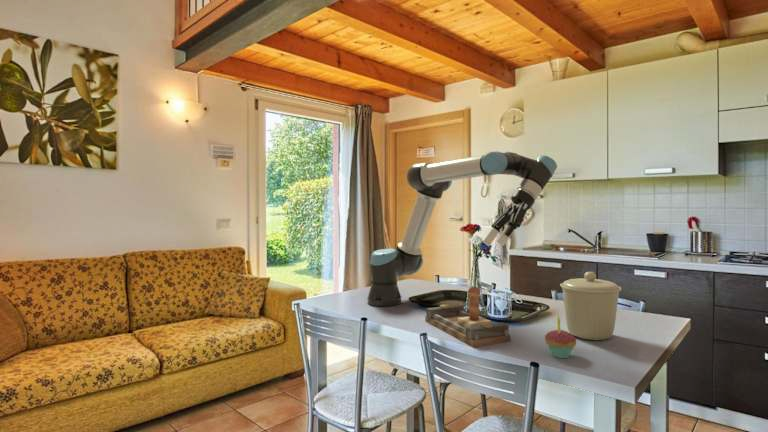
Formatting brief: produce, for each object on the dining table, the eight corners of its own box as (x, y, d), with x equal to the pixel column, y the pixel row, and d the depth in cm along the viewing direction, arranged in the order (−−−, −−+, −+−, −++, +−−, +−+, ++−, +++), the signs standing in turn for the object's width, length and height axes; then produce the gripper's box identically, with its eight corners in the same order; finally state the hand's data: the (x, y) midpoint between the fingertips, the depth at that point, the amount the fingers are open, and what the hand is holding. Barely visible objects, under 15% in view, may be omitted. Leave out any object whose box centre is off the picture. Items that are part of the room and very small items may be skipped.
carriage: (457, 326, 148) (457, 285, 147) (477, 323, 151) (477, 283, 150) (470, 333, 140) (470, 289, 140) (491, 330, 143) (491, 287, 143)
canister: (551, 336, 143) (551, 272, 142) (571, 324, 156) (571, 266, 155) (611, 348, 131) (611, 278, 130) (628, 334, 144) (628, 271, 143)
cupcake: (573, 362, 120) (573, 319, 120) (541, 357, 125) (541, 315, 124) (578, 353, 127) (578, 312, 127) (547, 348, 132) (547, 308, 131)
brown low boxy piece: (425, 321, 164) (425, 306, 163) (457, 316, 169) (457, 302, 169) (472, 347, 134) (472, 329, 134) (510, 341, 139) (510, 323, 139)
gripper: (551, 197, 141) (516, 250, 139) (519, 205, 166) (488, 250, 163) (533, 183, 141) (497, 236, 138) (503, 193, 166) (472, 238, 163)
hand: (492, 244), depth 151 cm, fingers open, 13 cm apart
